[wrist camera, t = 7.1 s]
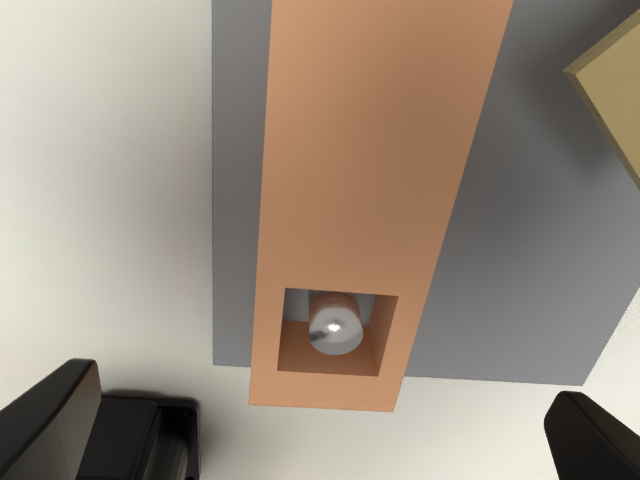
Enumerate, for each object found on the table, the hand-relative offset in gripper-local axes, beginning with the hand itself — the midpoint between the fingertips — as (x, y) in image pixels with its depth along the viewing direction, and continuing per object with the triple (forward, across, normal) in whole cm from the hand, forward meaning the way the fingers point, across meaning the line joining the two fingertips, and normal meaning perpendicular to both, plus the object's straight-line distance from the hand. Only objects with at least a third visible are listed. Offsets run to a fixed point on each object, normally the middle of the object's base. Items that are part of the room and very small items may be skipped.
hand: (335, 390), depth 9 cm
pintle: (+10, -1, +4) cm, 11 cm away
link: (+10, -1, 0) cm, 10 cm away
